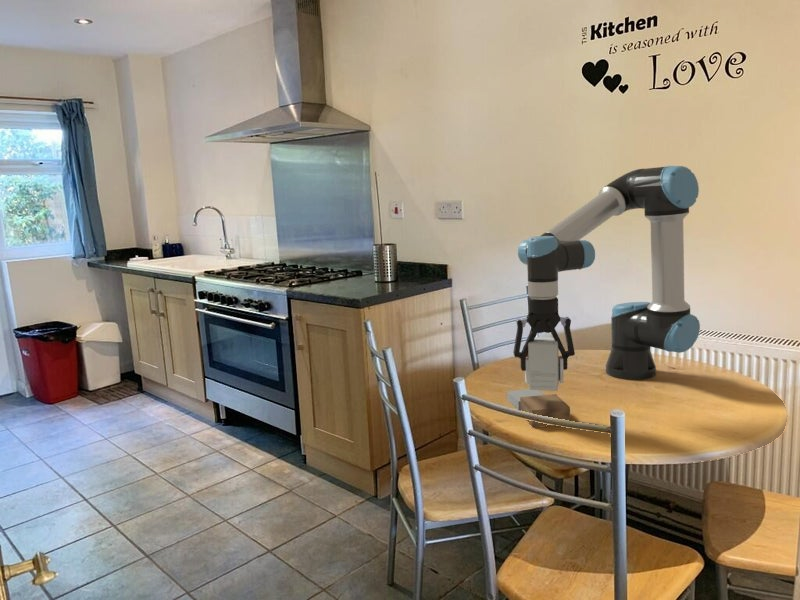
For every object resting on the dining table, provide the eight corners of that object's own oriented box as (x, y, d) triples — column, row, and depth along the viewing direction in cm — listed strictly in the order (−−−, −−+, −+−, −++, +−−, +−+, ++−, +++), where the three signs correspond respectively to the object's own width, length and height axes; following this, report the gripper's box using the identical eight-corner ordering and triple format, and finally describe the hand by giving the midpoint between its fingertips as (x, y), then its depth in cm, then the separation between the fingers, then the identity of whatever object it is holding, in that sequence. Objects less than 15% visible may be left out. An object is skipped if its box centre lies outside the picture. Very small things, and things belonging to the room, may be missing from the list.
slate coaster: (536, 397, 169) (535, 387, 169) (549, 408, 161) (548, 397, 160) (507, 401, 168) (507, 391, 167) (518, 411, 159) (518, 401, 159)
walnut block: (555, 411, 158) (555, 394, 157) (569, 425, 148) (569, 406, 147) (520, 414, 157) (520, 397, 156) (532, 428, 147) (531, 410, 146)
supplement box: (559, 382, 153) (559, 337, 151) (557, 392, 146) (557, 344, 144) (531, 381, 155) (530, 336, 153) (528, 390, 148) (527, 343, 146)
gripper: (581, 292, 149) (581, 376, 153) (500, 295, 151) (502, 378, 155) (588, 297, 142) (587, 385, 146) (502, 301, 144) (505, 387, 148)
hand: (544, 381), depth 150 cm, fingers closed on supplement box, 8 cm apart
